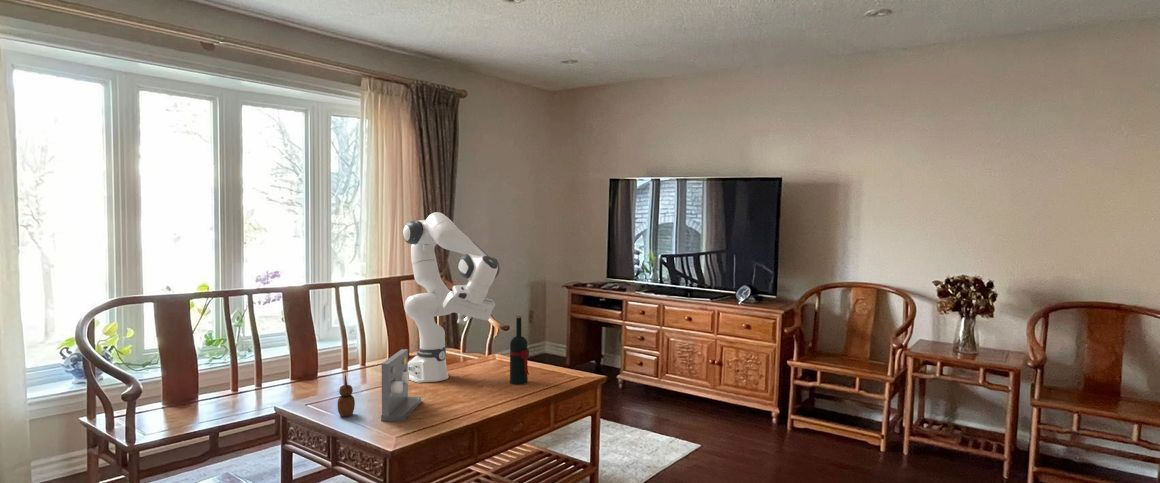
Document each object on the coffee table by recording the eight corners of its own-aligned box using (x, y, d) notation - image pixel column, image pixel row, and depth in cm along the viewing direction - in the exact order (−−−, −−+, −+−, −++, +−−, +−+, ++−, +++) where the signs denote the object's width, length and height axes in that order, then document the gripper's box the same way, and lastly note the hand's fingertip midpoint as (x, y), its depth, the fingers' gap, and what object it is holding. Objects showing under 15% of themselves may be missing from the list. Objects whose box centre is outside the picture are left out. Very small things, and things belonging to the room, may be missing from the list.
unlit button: (403, 391, 245) (403, 380, 245) (399, 395, 241) (399, 383, 241) (394, 391, 245) (394, 379, 245) (390, 394, 241) (390, 383, 241)
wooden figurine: (340, 412, 248) (340, 373, 247) (356, 412, 248) (356, 373, 248) (335, 418, 241) (335, 377, 240) (351, 418, 242) (351, 377, 241)
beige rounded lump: (409, 381, 259) (409, 370, 259) (405, 384, 255) (405, 373, 255) (401, 381, 259) (401, 370, 259) (397, 384, 255) (397, 373, 255)
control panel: (421, 401, 262) (420, 349, 261) (403, 421, 238) (402, 364, 237) (401, 401, 263) (400, 349, 262) (381, 421, 239) (380, 363, 238)
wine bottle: (520, 386, 285) (520, 318, 283) (506, 382, 292) (506, 315, 291) (534, 383, 290) (534, 316, 289) (520, 379, 298) (520, 313, 296)
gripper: (495, 297, 273) (481, 325, 276) (449, 284, 263) (436, 313, 266) (499, 304, 268) (485, 333, 271) (453, 292, 257) (439, 321, 260)
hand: (460, 323), depth 268 cm, fingers closed
